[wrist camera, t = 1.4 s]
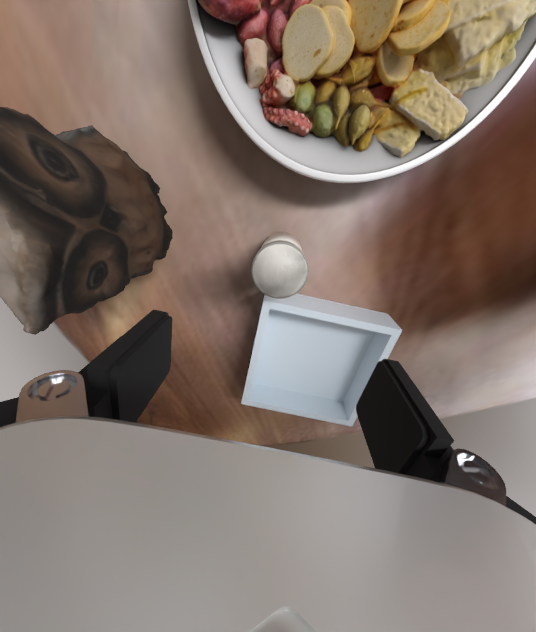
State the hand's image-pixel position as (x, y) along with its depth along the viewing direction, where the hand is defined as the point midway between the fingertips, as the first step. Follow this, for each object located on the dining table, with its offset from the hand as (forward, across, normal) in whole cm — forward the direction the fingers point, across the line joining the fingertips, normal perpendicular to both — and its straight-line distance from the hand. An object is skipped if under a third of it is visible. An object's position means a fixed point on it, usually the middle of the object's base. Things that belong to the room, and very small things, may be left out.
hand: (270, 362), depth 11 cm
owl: (+24, +21, -1) cm, 32 cm away
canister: (+24, 0, 0) cm, 24 cm away
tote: (+24, -8, +14) cm, 29 cm away
